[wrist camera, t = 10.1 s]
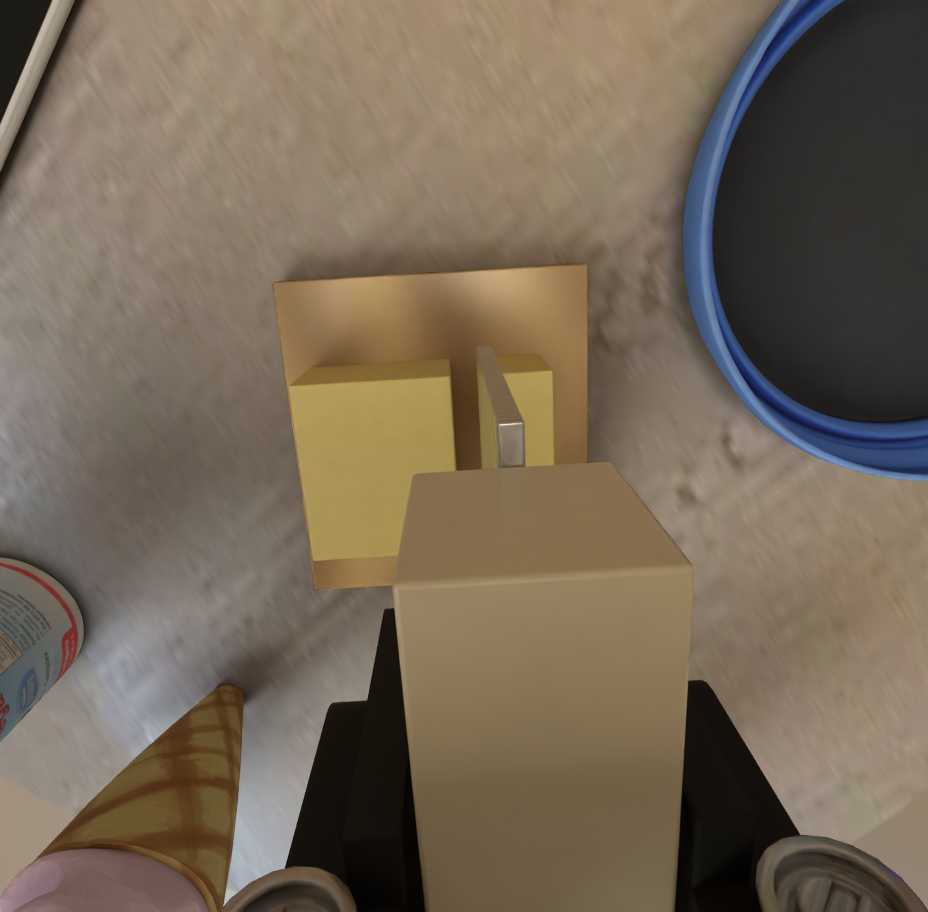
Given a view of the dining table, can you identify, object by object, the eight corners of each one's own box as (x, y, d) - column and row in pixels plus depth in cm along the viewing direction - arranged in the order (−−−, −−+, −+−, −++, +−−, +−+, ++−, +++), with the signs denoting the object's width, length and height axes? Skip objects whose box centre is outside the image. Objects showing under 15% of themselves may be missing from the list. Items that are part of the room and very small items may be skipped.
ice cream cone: (292, 769, 30) (147, 1246, 15) (156, 758, 29) (-122, 1236, 15) (298, 645, 28) (138, 1061, 13) (152, 632, 27) (-172, 1045, 13)
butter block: (331, 520, 25) (312, 561, 21) (311, 366, 23) (287, 385, 20) (459, 512, 25) (461, 552, 21) (449, 358, 23) (450, 375, 20)
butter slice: (495, 510, 25) (502, 549, 21) (488, 356, 23) (495, 372, 20) (541, 507, 25) (556, 546, 21) (538, 353, 23) (553, 369, 20)
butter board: (320, 576, 27) (314, 590, 26) (280, 281, 23) (271, 282, 22) (581, 560, 27) (587, 574, 26) (581, 263, 23) (588, 263, 22)
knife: (455, 727, 15) (459, 1266, 7) (427, 349, 13) (384, 521, 4) (547, 721, 15) (656, 1252, 7) (539, 342, 13) (700, 500, 4)
